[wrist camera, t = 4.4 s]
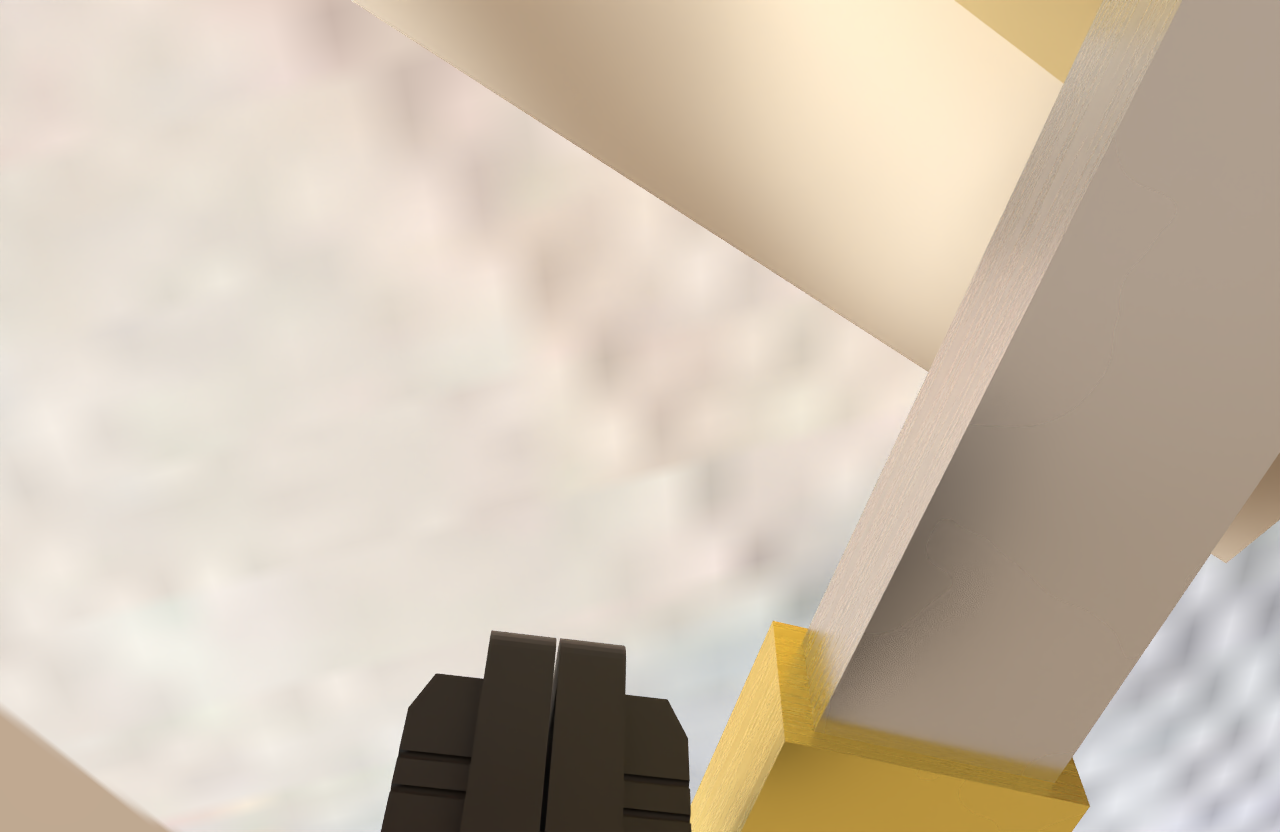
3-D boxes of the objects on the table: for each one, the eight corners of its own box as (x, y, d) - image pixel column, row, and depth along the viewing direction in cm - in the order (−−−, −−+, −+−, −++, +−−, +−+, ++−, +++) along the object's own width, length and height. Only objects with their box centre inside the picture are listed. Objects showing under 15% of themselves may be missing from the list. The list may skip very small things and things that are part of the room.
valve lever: (1198, -479, 8) (1405, -530, 6) (1573, -344, 9) (1908, -340, 6) (625, 878, 16) (616, 1085, 14) (833, 919, 17) (860, 1127, 14)
